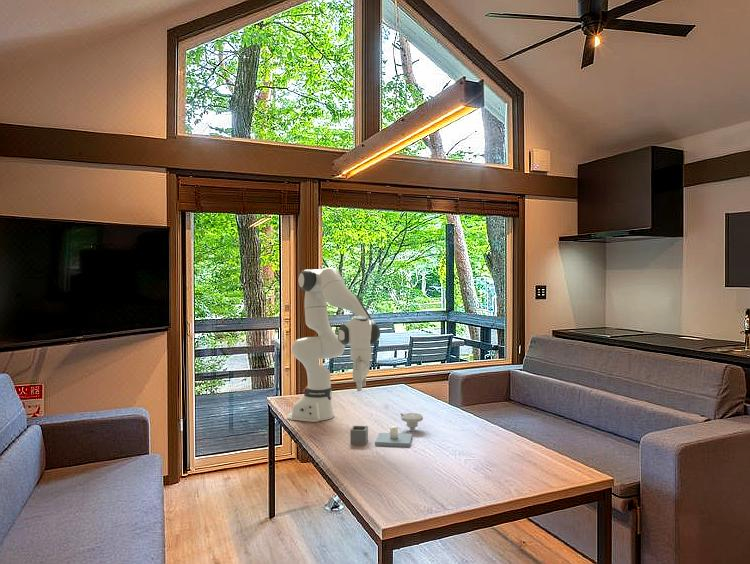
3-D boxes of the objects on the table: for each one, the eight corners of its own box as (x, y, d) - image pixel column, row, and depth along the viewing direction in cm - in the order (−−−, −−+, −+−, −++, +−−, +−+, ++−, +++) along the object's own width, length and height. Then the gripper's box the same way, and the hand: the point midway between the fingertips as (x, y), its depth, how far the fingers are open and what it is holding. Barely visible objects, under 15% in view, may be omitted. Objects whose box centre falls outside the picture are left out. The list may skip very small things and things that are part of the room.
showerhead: (401, 410, 237) (423, 411, 235) (401, 426, 237) (424, 427, 235) (398, 416, 228) (421, 417, 226) (398, 432, 228) (421, 434, 226)
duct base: (375, 445, 212) (374, 430, 211) (379, 436, 224) (379, 422, 223) (409, 447, 210) (409, 432, 209) (412, 437, 221) (411, 423, 221)
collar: (350, 444, 213) (350, 430, 213) (353, 439, 219) (353, 425, 219) (365, 445, 212) (365, 430, 212) (368, 440, 218) (367, 426, 218)
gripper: (364, 358, 206) (364, 394, 206) (371, 351, 227) (372, 383, 227) (348, 358, 207) (349, 393, 207) (357, 351, 227) (358, 383, 227)
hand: (361, 388), depth 217 cm, fingers open, 8 cm apart
